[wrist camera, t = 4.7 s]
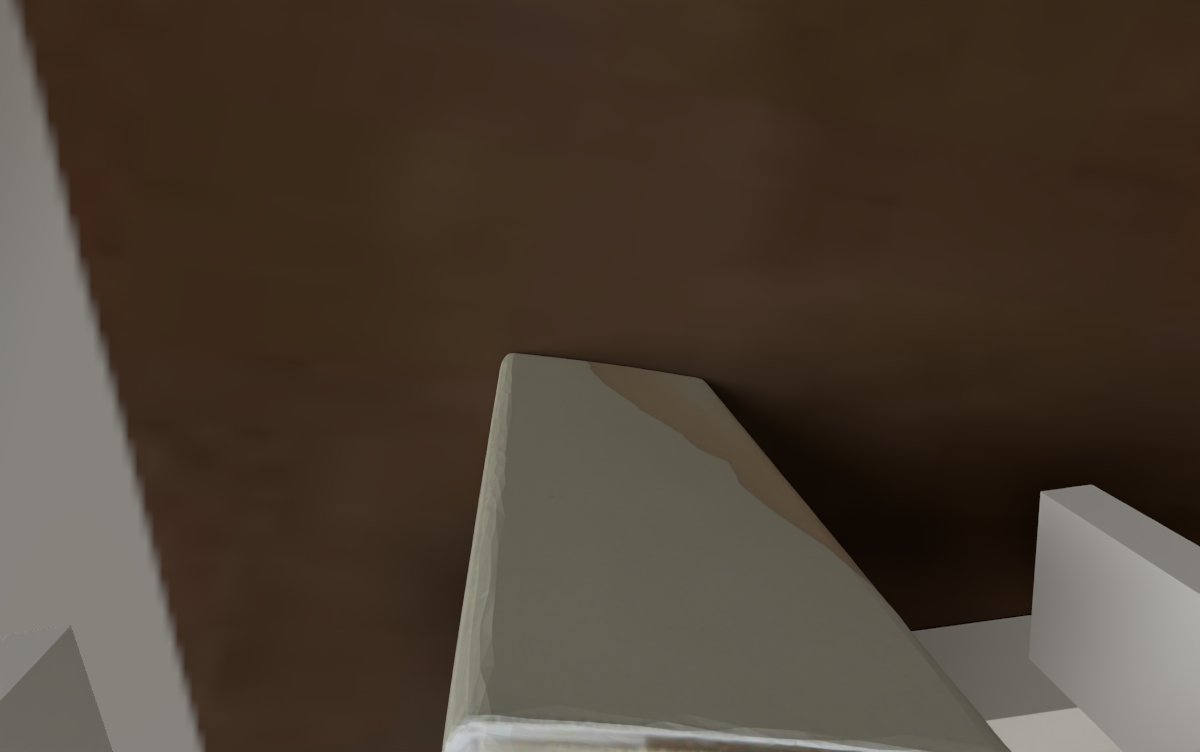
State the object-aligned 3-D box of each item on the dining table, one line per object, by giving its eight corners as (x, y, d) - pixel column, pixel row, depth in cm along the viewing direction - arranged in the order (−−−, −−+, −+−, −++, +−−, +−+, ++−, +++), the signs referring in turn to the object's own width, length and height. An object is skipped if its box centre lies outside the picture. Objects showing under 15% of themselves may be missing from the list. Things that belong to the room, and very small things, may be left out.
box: (665, 590, 17) (878, 1274, 7) (470, 572, 17) (372, 1287, 6) (710, 363, 16) (1066, 781, 5) (500, 336, 15) (436, 739, 5)
